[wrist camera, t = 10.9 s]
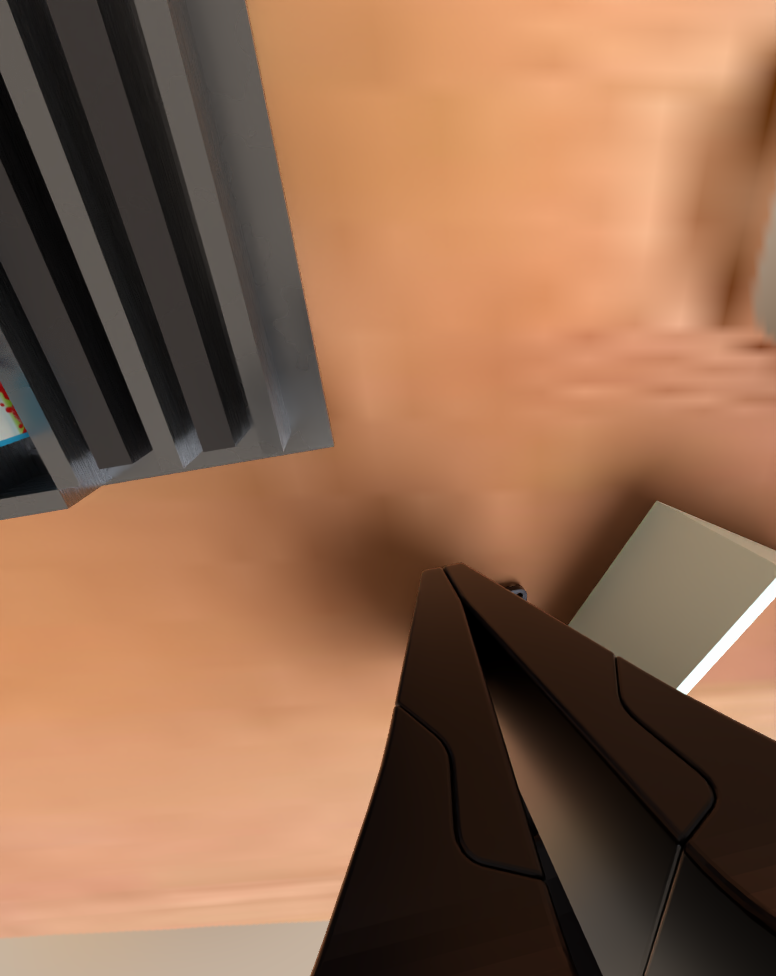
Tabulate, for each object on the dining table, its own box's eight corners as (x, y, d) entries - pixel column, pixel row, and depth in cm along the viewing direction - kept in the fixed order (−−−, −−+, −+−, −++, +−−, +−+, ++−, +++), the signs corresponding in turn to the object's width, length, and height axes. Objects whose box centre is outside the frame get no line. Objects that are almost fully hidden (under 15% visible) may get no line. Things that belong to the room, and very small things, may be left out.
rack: (334, 443, 18) (334, 467, 15) (11, 496, 17) (-63, 535, 14) (219, -135, 11) (171, -325, 8) (-344, -100, 10) (-663, -303, 7)
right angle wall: (546, 642, 27) (620, 750, 20) (649, 496, 23) (783, 568, 16) (668, 673, 30) (767, 775, 23) (775, 549, 26) (932, 628, 19)
